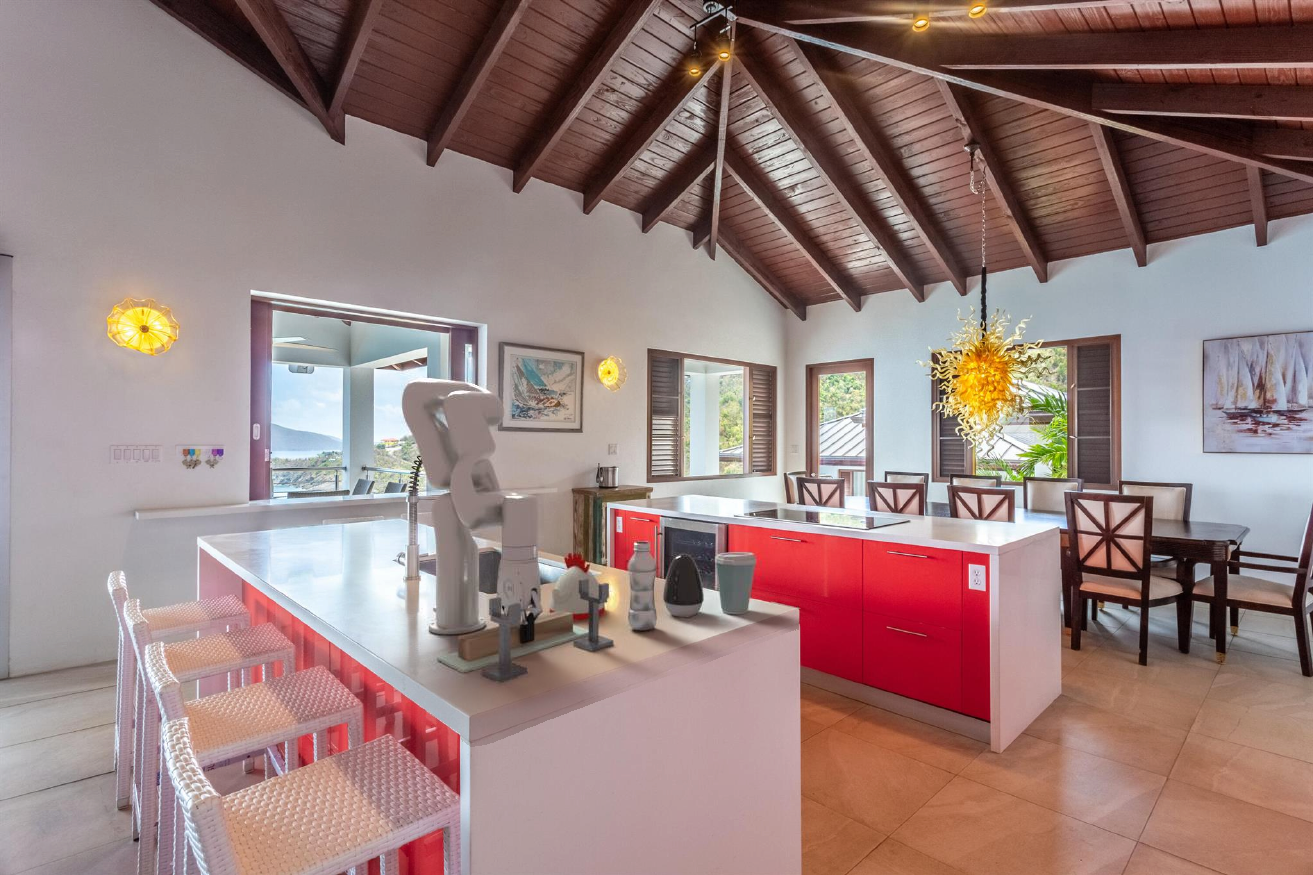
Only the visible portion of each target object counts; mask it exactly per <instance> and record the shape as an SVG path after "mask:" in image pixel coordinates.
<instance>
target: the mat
mask: <svg viewBox="0 0 1313 875" xmlns="http://www.w3.org/2000/svg"><path fill="white" fill-rule="evenodd" d="M587 636H589V629H587V628H584V627H581V626H577V625H575V624H573V631H572V632H569V633H565V634H562V635H558V636H555V637H552V638H548V639H545V640H541V641H538V642H535V643H531V644H528V645H524V646H521V647H518V648H514V649H511V650H510V660H512V659H515V658H518V657H521V656H526V655H528V654H532V653H534V652H538V651H541V650H544V649H546V648H550V647H555V646H557V645H560V644H564V643H567V642H570V641H574V640H578V639H581V638H584V637H587ZM437 660H438V662H439V661H441V662H442V664H443V663H444V664H443V665H445V664H446V666H447V665H449V666H450V667H449V666H448V667H449V668H451V667H453V668H454V670H455V669H457V670H456V671H458V670H459V671H458V672H460V673H462V672H463V673H462V674H466V673H469V671H470V672H472V671H471V670H473V671H475V669H476V670H479V669H484V668H487V667H490V666H493V665H497V664H499V653H497V654H494V655H490V656H487V657H484V658H480V659H477V660H473V661H470V662H468V661H466V660H464V659H462V658H460V657H458V651H456V652H451V653H448V654H445V655H441V656H437V657H436V661H437ZM441 662H440V663H441ZM453 668H452V669H453ZM465 672H466V673H465Z"/></svg>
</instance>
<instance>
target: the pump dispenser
mask: <svg viewBox="0 0 1313 875" xmlns="http://www.w3.org/2000/svg"><path fill="white" fill-rule="evenodd" d="M695 558H696V555H695V554H694V553H691V554H690V555H689V554H687V553H679V554H677V555H675V557H674V558H673V559H672V561H671V562H670V564H669V567H668V570H667V572H666V573H667V574H666V577H665V582H664V587H663V594H662V596H663V597H662V599H663V600H662V601H663V602H664V606H665V608H666V610H667V612H669V614H671V615H673V616H675V617H680V618H689V617H693V616H695V615H696V614H698V613H699V612H700V610H701V608H702V606H703V602H704V599H705V597H704V596H705V595H704V589H703V588H704V587H703V583H702V578H701V575H700V572H699V568H698V565H697V563H696V562H695V560H694V559H695Z"/></svg>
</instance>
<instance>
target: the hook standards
mask: <svg viewBox="0 0 1313 875" xmlns="http://www.w3.org/2000/svg"><path fill="white" fill-rule="evenodd" d="M579 594H580V599H583V600H587V601H589V619H588V630H589V635H587V636H584V637H580V638H577V639H574V640H573V643H572V644H573V646H574V647H577V648H580V649H582V650H585V651H588V652H591V653H594V652H597V651H600V650H602V649H606V648H608V647H612V646H614V644H615V643H614V639H610V638H608V637H605V636H602V635H599V634H600V633H599V628H600V627H599V625H600V624H599V619H600V618H599V617H600V616H599V604H603V603H605V604H606V603H608V599H609V598H610V583H609V582H604V583H600V584H599V595H595V594H592V593H589V579H587V578H585V579H580V580H579ZM488 615H489V616H490V622H493V623H496V624H498V626H499V663H496V664H492V665H489V666H486V667H483V668H481V675H482V676H483V677H486V678H488V679H490V680H492V681H495V682H496V681H497V682H496V683H498V684H501V683H505V682H507V681H510V680H513V679H516V678H519V677H520V678H521V677H523V676H525V675H528V672H529V671H528V669H529V668H528V667H525V666H523V665H521V664H518V663H516V662H513V661H511V659H510V632H511V627H515V626H519V621H521V620H522V617H521V604H519V603H516V604H511V605H509V616H506V615H504V613H502V606H501V598H500V597H497V596H496V597H493V598H489V599H488ZM504 681H505V682H504Z"/></svg>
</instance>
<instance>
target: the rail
mask: <svg viewBox="0 0 1313 875" xmlns="http://www.w3.org/2000/svg"><path fill="white" fill-rule="evenodd" d="M520 624H523V623H522V619H521V621H519V626H515V627H511V632H510V650H511V649H514V648H518V647H521V646H524V645H528V644H531V643H535V642H538V641H541V640H545V639H548V638H552V637H555V636H558V635H562V634H565V633H569V632H572V631H573V625H574V620H573V613H570V612H567V611H563V610H560V611H556V612H553V613H550V612H549V613H546V614H540V615H539V616H538V617H537V619H536V622H535V624H534V641H532V642H528V643H525V644H522V643H520ZM457 639H458V641H457V642H458V644H457V646H458V647H457V648H458V649H457V652H458V657H460V658H462V659H464V660H466V661H468V662H470V661H473V660H477V659H480V658H484V657H487V656H490V655H494V654H497V653H499V625H498V626H495V627H490V628H487V629H483V630H482V629H481V630H478V631H474V632H470V633H466V634H463V635H460V636H459V635H458V638H457Z"/></svg>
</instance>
